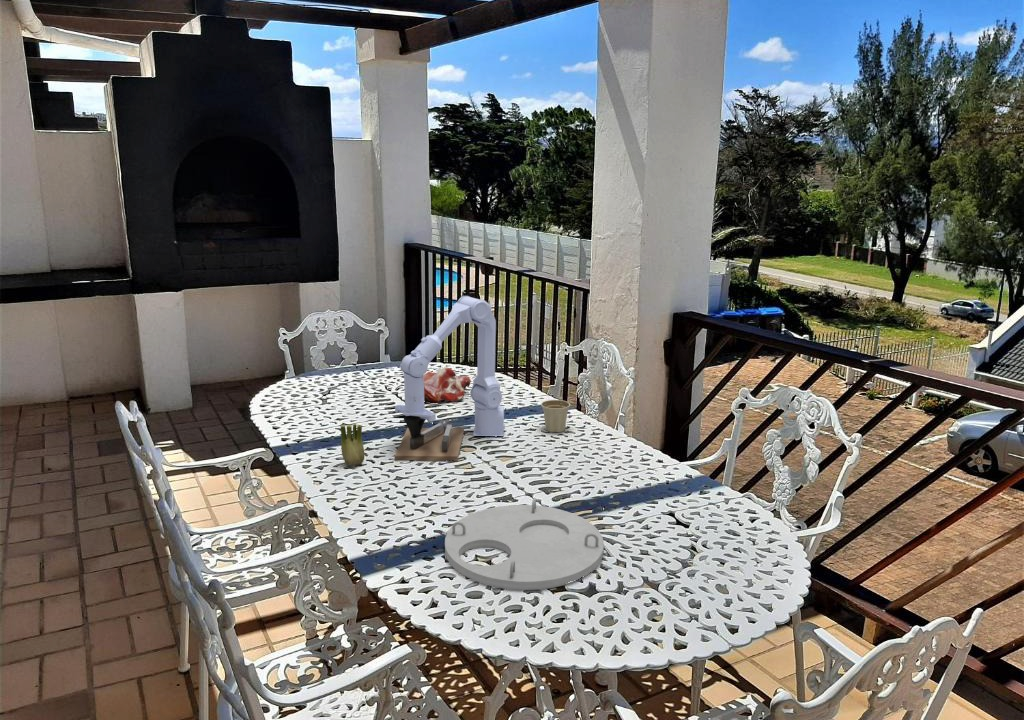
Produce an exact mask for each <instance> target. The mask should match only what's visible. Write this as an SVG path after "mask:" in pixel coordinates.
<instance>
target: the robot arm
mask: <svg viewBox="0 0 1024 720" xmlns="http://www.w3.org/2000/svg"><path fill="white" fill-rule="evenodd" d="M467 323H474V324H475V325H476V327H477V365H476V366H477V371H476V372H477V373H476V375H477V376H475V377H474V379H473V381H472V386H471V388H470V393H469V394H470V398H471V399H472V401H473V402H474V403H473V405H474V428H473V432H472V437H474V436H495V438H497V436H503V437H504V434H503V433H504V431H505V429H506V426H505V425H506V423H505V406H503V405H500V404H501V403H502V400H503V394H502V391H501V389H500V388H501V385H500V382H498V379H497V378H496V375H495V374H496V337H497V336H496V334H497V333H496V331H497V320H496V317H495V315H494V314H493V311H492V305H491V304H489V303H488V301H486V300H484V299H479V298H475V297H471V296H470V295H463V296H461V297H460V298H459V299H458V300H457V302H455V303H454V304H453V305H452V308H451V311H450V312H449V313H448V314H447V316H446V318H445V319H444V320H443V321H442V322H441V324H440V325H439V327H438V328H437V329H436V330H435V332H434V333H433V334H430V335H426V336H424V337H422V338H421V339H420V341H421V342H420V343H419V344H418V345H417V346H416V347H415V349H414V350H412V351H411V352H410V354H408V355H405V356H404V357H403V358H402V360H401V363H400V364H399V369H400V371H402V373H403V386H404V390H403V391H404V405H402V404H398V405H395V406H394V409H395V410H394V412H395V413H397V414H398V413H401V414H403V416H405V417H403V421H404V422H405V424H406V426H407V428H409V431H410V434H411V437H414V436H416V435H417V434H419V433H420V432H421V429H422V428H423V426H424V424H425V422H426V420H427V421H429V422H434V421H436V419H437V418H436V413H433V412H432V411H429V410H428V409H426V408H425V403H424V374H426V373H427V372H428V367H429V364H430V363H431V361H432V360H433V359H434V358H435V357H436V356H437V354H439V352H440V351H441V350H442V349H443V346H442V345H443V342H444V341H445V340H446V339H447V338H448V337H449V336H450V335H451V334H452V333H453V332H454V330H456V329H457V328H458V327H459V325H461V324H467Z"/></svg>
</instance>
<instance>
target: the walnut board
mask: <svg viewBox="0 0 1024 720" xmlns="http://www.w3.org/2000/svg"><path fill="white" fill-rule="evenodd" d="M429 428H430V427H422V429H421V432H420V433H422V432H424V431H425V430H427V429H429ZM444 434H445V432H444V433H442V434H440V435H439V436H437V437H435V438H433V439H432V440H430V441H428V442H426V443H424V444H423V445H421V446H420V447H418V448H416V449H410V438H412V437H411V434H410V431H409V428H408V427H407V428H406V431H405V432H404V434H403V437H402V439H401V441H400V443H399V445H398V447H397V450H396V451H395V454H394V461H395V460H418V461H417V462H459V457H460V453H461V449H462V445H461V443H462V444H463V440H462V439H464V436H463V435H465V428H464V427H463V428H462V427H455V428H454V427H452V436H451V439H450V443H449V447H448V451H447V452H442V439H443V436H444ZM460 448H461V449H460ZM446 460H447V461H446ZM449 460H450V461H449ZM452 460H454V461H452Z"/></svg>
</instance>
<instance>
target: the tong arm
mask: <svg viewBox="0 0 1024 720" xmlns="http://www.w3.org/2000/svg"><path fill="white" fill-rule="evenodd" d="M449 423H450V422H449V420H448V419H441V420H439V422H438V423H437V424H435V425H433V426H431V427H428V428H429V429H427V430H425V431H424V432H422V433H419V434H417V435H416V436H414V437H412V438H410V449H416V448H418V447H420V446H421V445H423V444H424V443H426V442H428V441H430V440H432V439H433V438H435V437H437V436H439V435H440V434H442V433H444V432H445V430H446V427H447V425H450V424H449Z"/></svg>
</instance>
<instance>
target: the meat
mask: <svg viewBox="0 0 1024 720" xmlns="http://www.w3.org/2000/svg"><path fill="white" fill-rule="evenodd" d="M471 381H472V380H471V378H470V376H467V375H466V376H465V375H456V371H454V370H453V369H452V368H451V367H447V366H444V367H443V368H439V369H438V370H437V372H436V373H435V372H429V371H427V372H426V373H425V374H424V401H425V402H430V403H439V402H441V401H446V402H453V403H454V402H457V401H458V400H461V399H462V398H463V397H464V395H465V393H466V392H465V390H466V388H467V387H470V386H471Z"/></svg>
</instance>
